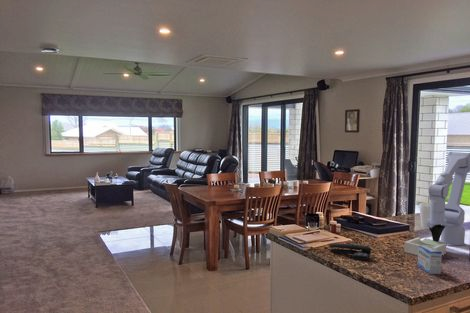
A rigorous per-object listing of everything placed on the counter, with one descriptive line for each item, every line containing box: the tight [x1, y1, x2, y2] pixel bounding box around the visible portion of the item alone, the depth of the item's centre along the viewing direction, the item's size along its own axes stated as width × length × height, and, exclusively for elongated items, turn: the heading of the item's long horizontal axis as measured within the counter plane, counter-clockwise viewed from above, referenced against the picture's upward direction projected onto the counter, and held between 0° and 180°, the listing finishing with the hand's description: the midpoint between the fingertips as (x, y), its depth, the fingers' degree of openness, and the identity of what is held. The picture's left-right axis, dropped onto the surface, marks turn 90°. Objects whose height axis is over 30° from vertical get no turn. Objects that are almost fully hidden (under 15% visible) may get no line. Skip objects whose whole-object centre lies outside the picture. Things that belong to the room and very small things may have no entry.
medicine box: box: [417, 244, 443, 275], centre depth 138 cm, size 8×4×9 cm, turn 5°
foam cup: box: [418, 202, 431, 231], centre depth 200 cm, size 10×9×13 cm
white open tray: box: [404, 237, 447, 257], centre depth 158 cm, size 12×12×4 cm
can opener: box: [328, 243, 372, 261], centre depth 154 cm, size 18×7×6 cm, turn 53°
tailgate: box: [420, 237, 448, 247], centre depth 163 cm, size 2×9×5 cm
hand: (435, 240), depth 164 cm, fingers closed
